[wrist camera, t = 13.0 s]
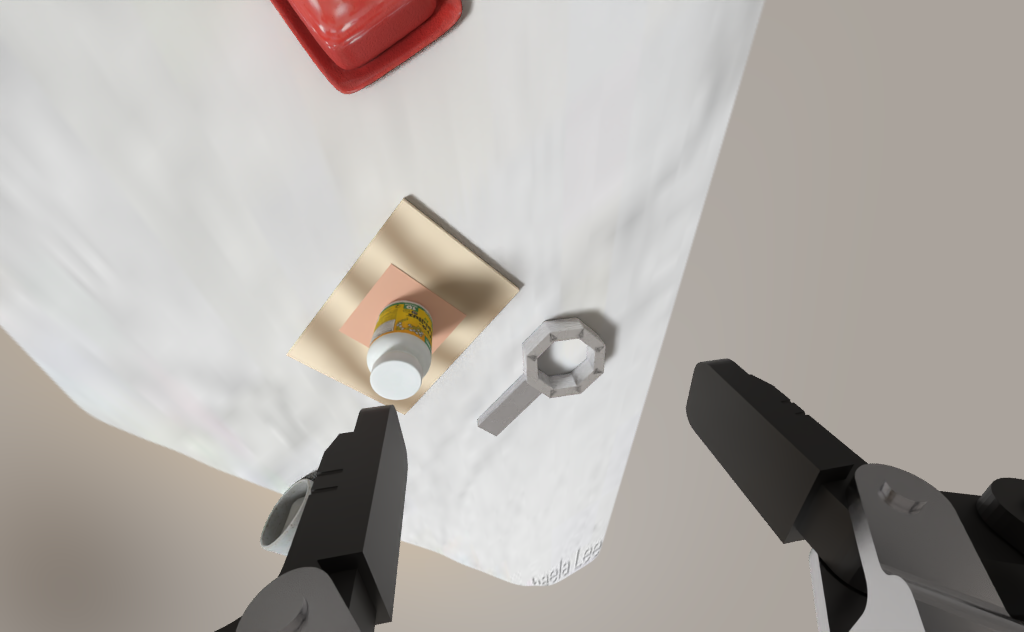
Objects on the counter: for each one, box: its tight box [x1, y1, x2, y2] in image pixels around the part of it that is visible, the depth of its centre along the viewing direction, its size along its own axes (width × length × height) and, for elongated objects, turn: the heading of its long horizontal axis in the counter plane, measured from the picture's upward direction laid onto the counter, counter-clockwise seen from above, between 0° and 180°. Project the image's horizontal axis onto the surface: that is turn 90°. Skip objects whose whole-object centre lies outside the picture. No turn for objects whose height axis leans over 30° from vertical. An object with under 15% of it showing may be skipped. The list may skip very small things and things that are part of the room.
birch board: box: [287, 198, 519, 415], centre depth 39 cm, size 20×14×1 cm
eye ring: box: [477, 317, 606, 436], centre depth 44 cm, size 18×9×2 cm, turn 138°
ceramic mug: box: [260, 479, 314, 556], centre depth 45 cm, size 11×8×8 cm
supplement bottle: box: [367, 300, 433, 400], centre depth 34 cm, size 5×5×10 cm
